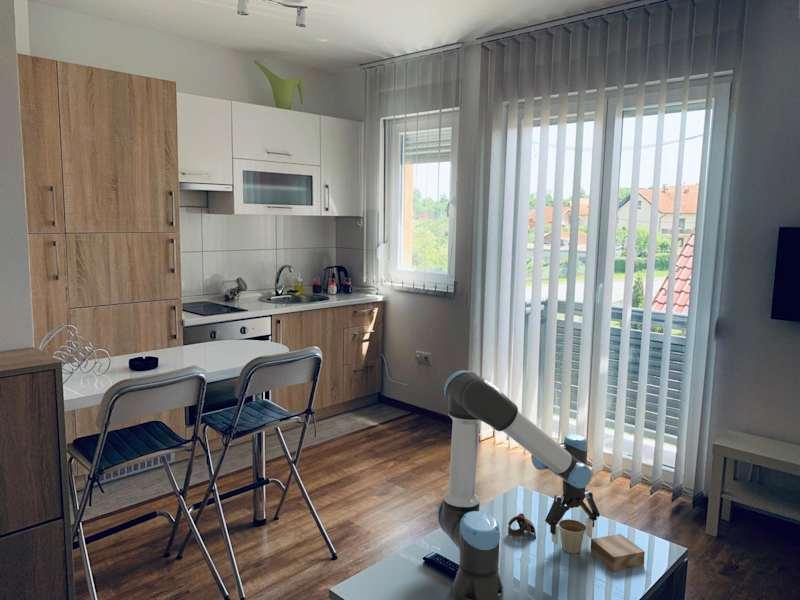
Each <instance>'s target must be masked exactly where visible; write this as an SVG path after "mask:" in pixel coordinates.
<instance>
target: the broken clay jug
mask: <svg viewBox="0 0 800 600" xmlns="http://www.w3.org/2000/svg"><path fill="white" fill-rule="evenodd" d="M514 522H517V525H518V527H519V528H518V529H517V528H516V529H513V528H511V526H512V524H513V523H514ZM507 525H508V527H507V533H508V536H509V537H514V538H516V537H517V538H518V537H526V535H525V532H527V533H532V534H533V536H534V539H535V540H536V539H537V533H536V529H535V526H534V524H533V522H532V521H531V520H529V519H528V518H526V517H525V514H524V513H522V512H521V513H519V514H518V515H516V516H514V517H512V518H511V519H510V520H509V521H508V524H507Z"/></svg>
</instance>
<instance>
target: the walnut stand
mask: <svg viewBox="0 0 800 600" xmlns="http://www.w3.org/2000/svg"><path fill="white" fill-rule="evenodd" d="M590 554H591V555H593V557H595V558H596V559H597V560H598V561H599V562H601V563H602V564H603V565H605V567H607V568H608V569H609V570H610V571H612V572H613V573H616V572H619V571H624V570H631V569H635V568H639V567H644V566H645V550H644V549H642V548H640V546H638V545H636V544H635V543H634V542H632V541H631V540H629V538H627V537H626V536H625V535H623V534H621V533H617V534H611V535H606V536H599V537H594V538H593V537H592V538H590Z"/></svg>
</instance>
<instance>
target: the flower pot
mask: <svg viewBox="0 0 800 600" xmlns="http://www.w3.org/2000/svg"><path fill="white" fill-rule="evenodd" d="M557 525H558V526H559V531H560V532H559V533H560V540H561V541H560V542H561V549H562V550H563V551H564V552H567V553H569V554H578V553H579V552H581V550H582V544H583V539H584V534H586V523H584V522H582V521H580V520H576V519H571V518H565V519H561V520H560V521H559V522H558V524H557Z"/></svg>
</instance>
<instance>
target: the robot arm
mask: <svg viewBox="0 0 800 600" xmlns="http://www.w3.org/2000/svg"><path fill="white" fill-rule="evenodd" d="M443 391H444V396H445V398H446V401H448V411H447V413H448V416H449V417H450V418H451V419H452V425H451V426H452V428H451V440H450V441H451V442H450V443H451V444H450V461H449V475H448V476H449V477H448V491H446V492H445V493H444V494H443V498H442V501H441V502H440V503H439V504H438V506H437V510H436V519H437V522H438V524H439V525H440V528H441V530H442V531H443V532H444V534H446V535H447V537H448V538H449V539H450V540H451V542H453V544H454V545H455V546H456V547H457V548H458V550H459V561H458V562H459V563H458V564H459V565H458V566H459V567H458V569H457V573H456V575H455V578H454V580H453V584H452V594H453V597H454V599H455V598H456V599H457V600H504V593H505V592H504V586H503V582H502V580H501V579H502V578H501V576H500V573H499V564H500V563H499V560H500V558H499V557H500V540H501V532H500V525H499V522H498V521H497V519H496V518H495V517H494V516H493V515H491V514H489V513H485V512H483V511H480V500H481V499H480V497H479V496H478V495H477V494H476V492H477V491H476V489H477V474H478V459H479V458H478V457H479V443H480V428H481V427H480V426H481V422H483V423H485V424H486V425H487V426H490V427H491V428H493V430H496V431H497V432H503V433H505V435H507V436H508V437H509V438H511V439H512V440H513V441H514V442H516V443H517V444H518V445H519V446H521V447H522V448H523V449H525V450H526V451H527V452H529V453H530V454H531V456H530V457H531V463H532V465H533V467H534V468H535V469H536V470H538V471H545V470H549V471H550V472H552V473H553V474H555V475H556V476H558V477H560V478H561V479H562V495H559V496H558V494H555V495H554V498H553V502H552V504H551V506H550V509H549V511H548V513H547V515H546V518H545V520H544V521H545V523H547V525H549V528H550V529H549V531H550V534H551V542H552V543H553V544H555V545H559V531H560V529H559V526H558V522H559V521H561V520H562V518H563V517H564V515H566V512H568V511H569V510H570V509H573V508H579V507H580V508H581V509H582V510H583V511H584V513H585V514H587V516H586V517H585V525H586V530H585V533H584V534H585V535H586V536H587V537H588V538H589V539H593V528H594V527H595V521H597V519H598V518H599V517H600V516H601V515H600V514H601V513H600V512H599V509H598V507H597V504H596V502H595V500H594V495H593V492H592V491H590V490H588V489H587V486H589V484H590V483H591V481H592V476H593V473H592V470H591V468H590V467H589V466H588V465H587V464H588V463H587V461H588V460H587V459H588V440H587V438H586V437H585V436H583V435H581V434H580V435H579V434H575V433H573V434H572V433H571V434H567V435H565V436H564V438H563V442H561V443H558V442H557V441H555V439H553V438H552V437H551V436H549V435H548V434H547V433H546V432H545V431H543V430H542V429H541V428H540V427H538V426H537V425H536V424H535V423H533V422H532V421H531V420H530V419H529V418H527V417H526V416H525V415H524V414H522V413H521V412H520V411H519V407H518V405H517V404H515V403H514V401H512V400H511V399H510V398H509V397H508V395H506V394H505V393H504V392H503V391H502V390H501V389H500V388H499V387H498V386H496V385H495V384H494V383H493V382H492V381H490V380H488V379H486V378H484V377H482V376H479V375H478V374H477V373H475V372H472V371H469V370H458V371H456V372H454V373H452V374H451V375H450V376H448V378H447V379H446V381H445V384H444V388H443ZM585 499H586V501H587V503H588V505H589V507H588V506H587V504H586V503H585V502H584V500H585ZM456 599H455V600H456Z"/></svg>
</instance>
